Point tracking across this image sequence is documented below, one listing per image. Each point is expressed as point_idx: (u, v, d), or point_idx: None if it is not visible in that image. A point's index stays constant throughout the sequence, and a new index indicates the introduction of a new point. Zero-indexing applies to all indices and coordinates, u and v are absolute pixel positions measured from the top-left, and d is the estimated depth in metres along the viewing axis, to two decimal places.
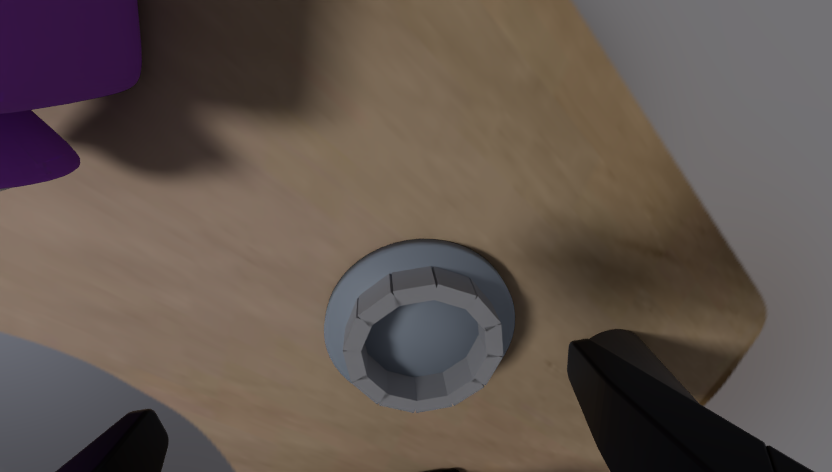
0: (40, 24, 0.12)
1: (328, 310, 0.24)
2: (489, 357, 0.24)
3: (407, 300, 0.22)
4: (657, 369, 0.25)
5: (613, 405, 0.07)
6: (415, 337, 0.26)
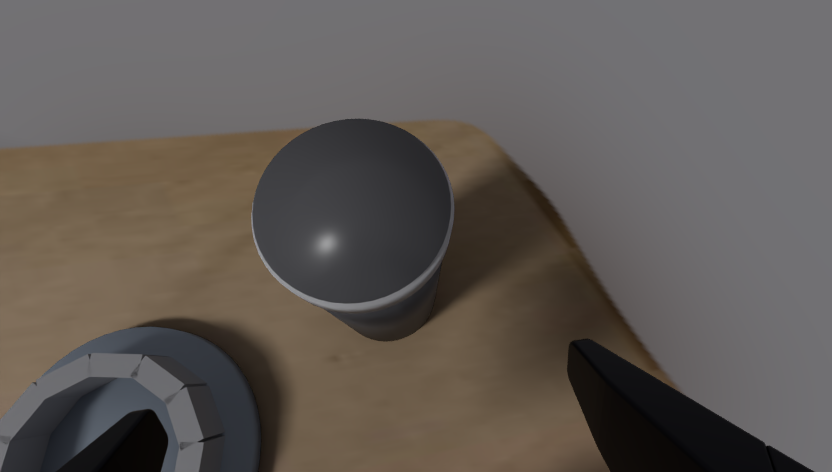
0: None
1: None
2: (171, 401, 0.18)
3: (15, 427, 0.17)
4: None
5: (613, 405, 0.07)
6: None
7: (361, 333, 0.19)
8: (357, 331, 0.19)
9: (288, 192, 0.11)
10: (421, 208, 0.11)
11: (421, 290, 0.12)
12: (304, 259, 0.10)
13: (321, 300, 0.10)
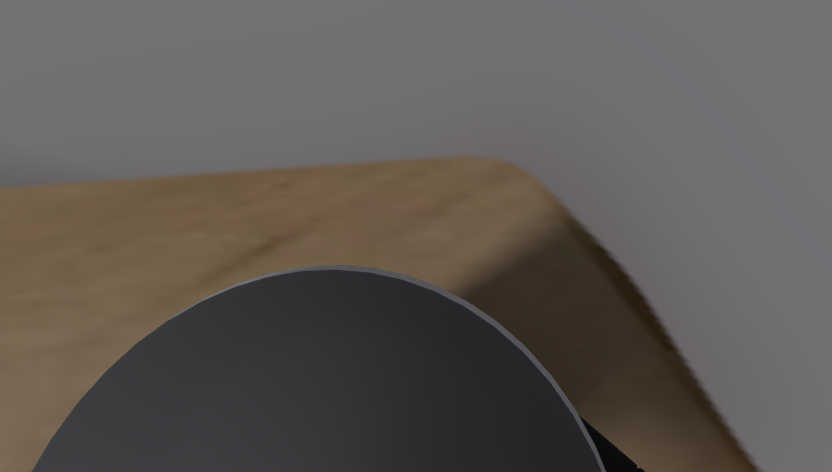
0: None
1: None
2: None
3: None
4: None
5: None
6: None
7: None
8: None
9: None
10: None
11: None
12: None
13: None
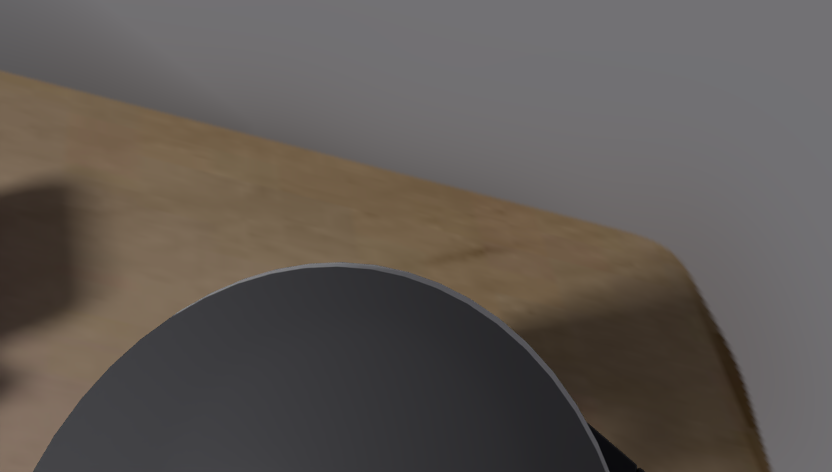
0: None
1: None
2: None
3: None
4: None
5: None
6: None
7: None
8: None
9: None
10: None
11: None
12: None
13: None
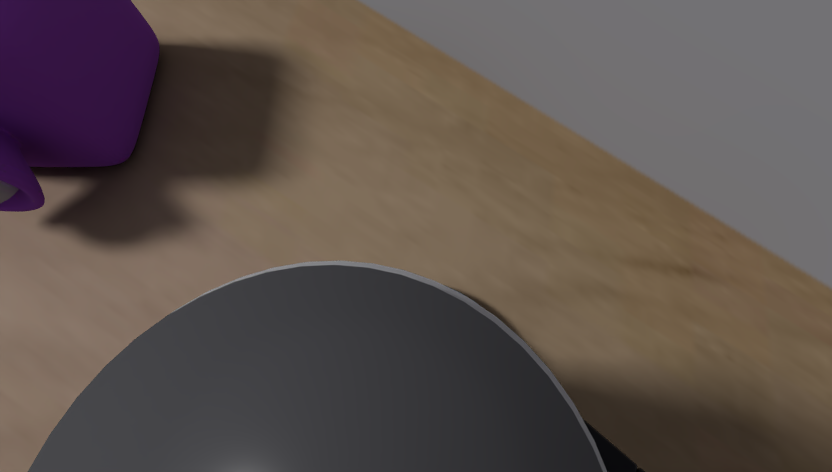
0: (49, 41, 0.17)
1: None
2: None
3: None
4: None
5: None
6: None
7: None
8: None
9: None
10: None
11: None
12: None
13: None
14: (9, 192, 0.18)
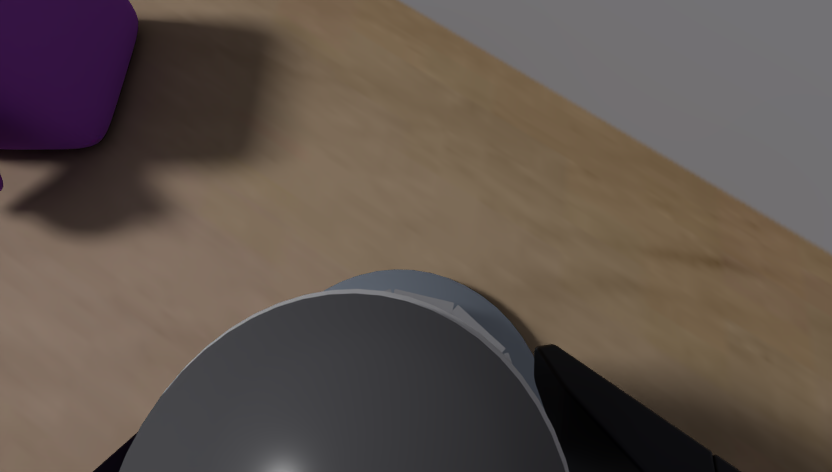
0: (2, 0, 0.15)
1: None
2: None
3: None
4: None
5: (571, 412, 0.07)
6: None
7: None
8: None
9: None
10: None
11: None
12: None
13: None
14: None
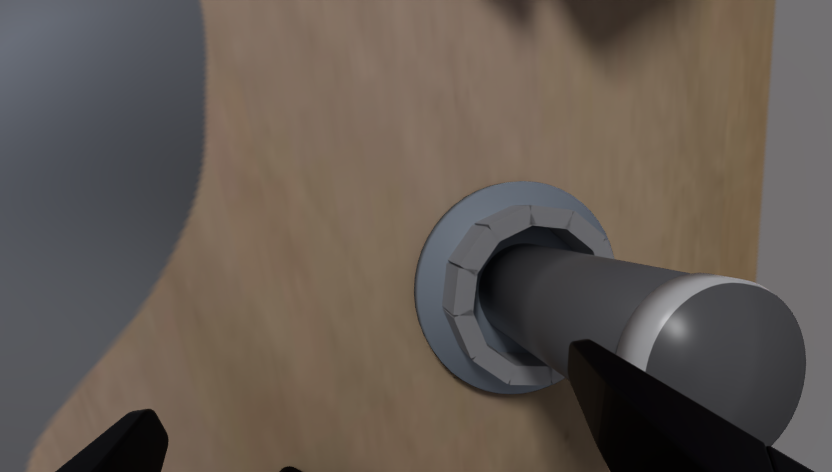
0: None
1: (479, 193, 0.22)
2: None
3: (576, 230, 0.21)
4: None
5: (613, 405, 0.07)
6: None
7: (495, 313, 0.20)
8: (495, 310, 0.20)
9: (711, 324, 0.11)
10: (757, 429, 0.11)
11: None
12: (672, 386, 0.11)
13: None
14: None
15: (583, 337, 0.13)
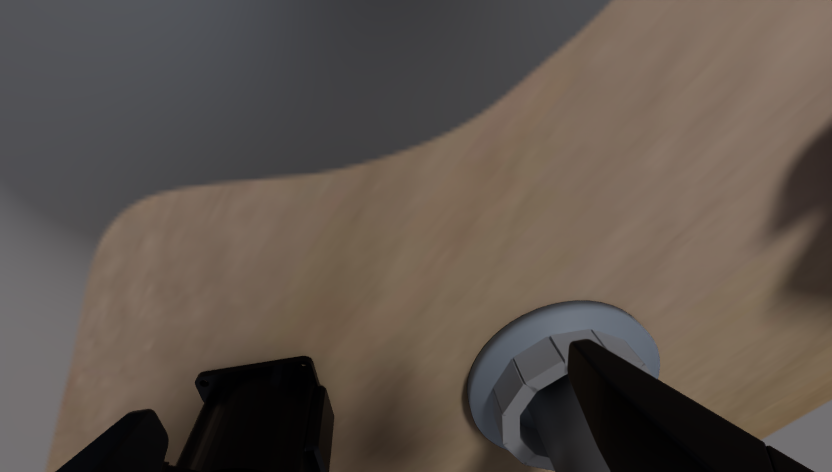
0: None
1: (616, 315, 0.23)
2: None
3: None
4: None
5: (613, 405, 0.07)
6: None
7: (548, 404, 0.22)
8: (551, 402, 0.22)
9: None
10: None
11: None
12: None
13: None
14: None
15: None
